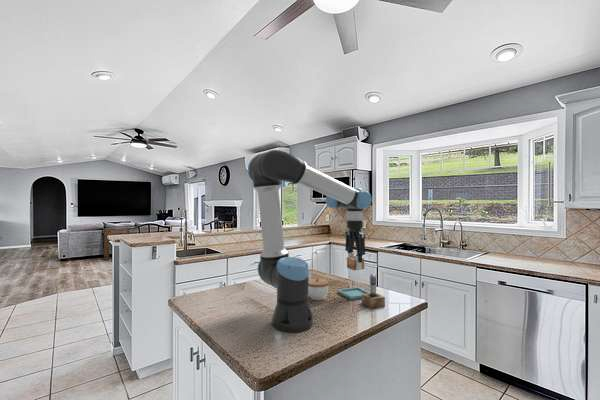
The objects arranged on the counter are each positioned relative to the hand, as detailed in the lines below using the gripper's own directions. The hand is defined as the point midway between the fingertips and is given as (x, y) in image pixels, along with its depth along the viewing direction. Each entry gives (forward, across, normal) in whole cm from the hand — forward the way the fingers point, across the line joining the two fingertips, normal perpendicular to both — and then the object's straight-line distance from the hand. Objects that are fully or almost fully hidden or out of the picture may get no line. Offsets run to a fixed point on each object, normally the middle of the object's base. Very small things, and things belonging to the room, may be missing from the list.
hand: (354, 267), depth 141 cm
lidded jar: (+13, +2, +19) cm, 24 cm away
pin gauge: (+13, -15, 0) cm, 20 cm away
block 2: (+13, -14, 0) cm, 20 cm away
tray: (+13, 0, 0) cm, 13 cm away
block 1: (0, 0, 0) cm, 1 cm away
